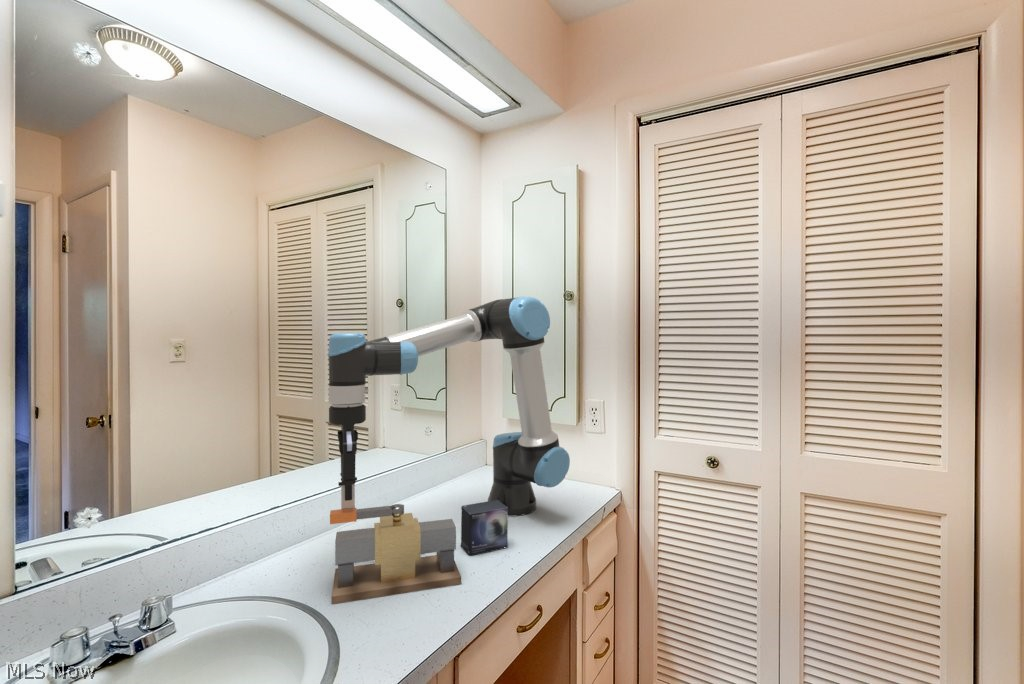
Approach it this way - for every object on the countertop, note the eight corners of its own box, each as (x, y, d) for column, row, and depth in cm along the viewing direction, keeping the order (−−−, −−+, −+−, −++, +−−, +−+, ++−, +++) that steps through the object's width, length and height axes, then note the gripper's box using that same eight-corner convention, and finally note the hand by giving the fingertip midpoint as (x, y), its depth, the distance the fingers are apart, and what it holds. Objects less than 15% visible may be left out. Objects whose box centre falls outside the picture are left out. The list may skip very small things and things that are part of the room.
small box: (469, 557, 114) (469, 513, 114) (459, 546, 120) (459, 505, 120) (508, 548, 119) (508, 506, 119) (497, 538, 125) (497, 498, 125)
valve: (451, 557, 110) (451, 503, 110) (456, 571, 104) (456, 514, 104) (337, 573, 103) (336, 515, 103) (335, 589, 96) (334, 528, 96)
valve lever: (403, 511, 105) (403, 502, 105) (404, 516, 102) (404, 506, 102) (330, 519, 100) (330, 510, 100) (329, 524, 98) (329, 515, 98)
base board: (451, 559, 113) (451, 552, 113) (461, 584, 101) (461, 577, 101) (335, 575, 105) (335, 568, 105) (331, 604, 94) (331, 596, 94)
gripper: (368, 407, 98) (369, 521, 98) (362, 399, 110) (363, 501, 110) (329, 409, 95) (330, 527, 95) (328, 401, 107) (328, 506, 107)
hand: (348, 513), depth 102 cm, fingers closed
